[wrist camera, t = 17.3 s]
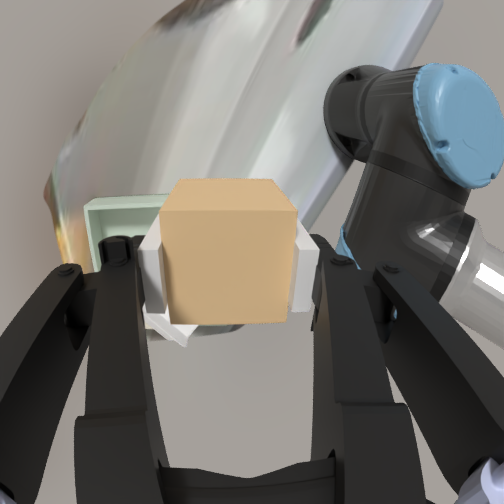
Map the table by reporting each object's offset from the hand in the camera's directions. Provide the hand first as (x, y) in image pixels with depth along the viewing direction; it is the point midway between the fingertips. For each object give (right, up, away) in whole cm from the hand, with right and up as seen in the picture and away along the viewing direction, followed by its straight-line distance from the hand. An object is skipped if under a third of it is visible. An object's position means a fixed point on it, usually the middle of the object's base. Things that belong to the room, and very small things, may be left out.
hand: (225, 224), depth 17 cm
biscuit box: (0, 0, 0) cm, 0 cm away
